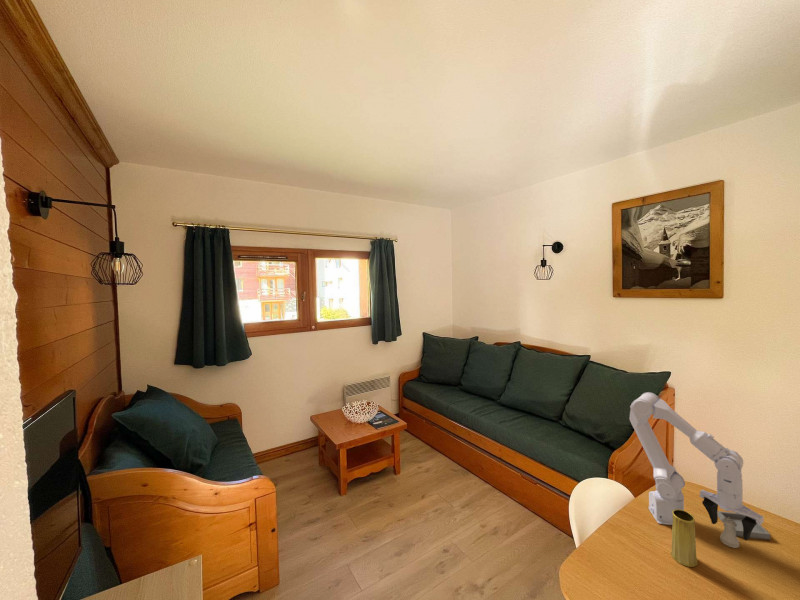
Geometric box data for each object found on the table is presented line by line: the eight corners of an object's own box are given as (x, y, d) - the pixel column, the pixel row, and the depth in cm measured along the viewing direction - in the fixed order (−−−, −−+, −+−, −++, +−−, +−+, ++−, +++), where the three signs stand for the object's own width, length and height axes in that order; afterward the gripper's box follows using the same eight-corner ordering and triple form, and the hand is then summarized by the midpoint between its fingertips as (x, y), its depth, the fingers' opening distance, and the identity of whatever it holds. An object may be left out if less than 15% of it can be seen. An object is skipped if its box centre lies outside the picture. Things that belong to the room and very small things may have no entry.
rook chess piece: (744, 548, 103) (743, 524, 102) (729, 549, 103) (729, 525, 103) (730, 537, 108) (729, 514, 107) (716, 538, 108) (715, 515, 107)
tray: (735, 536, 108) (735, 530, 108) (717, 516, 116) (717, 510, 116) (770, 540, 105) (770, 534, 105) (749, 519, 114) (749, 514, 114)
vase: (691, 552, 103) (690, 509, 102) (701, 569, 97) (701, 524, 96) (667, 548, 105) (666, 506, 104) (676, 565, 99) (675, 520, 98)
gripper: (694, 482, 109) (695, 520, 110) (756, 508, 96) (756, 552, 97) (705, 475, 112) (706, 512, 113) (766, 499, 99) (766, 542, 100)
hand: (730, 530), depth 105 cm, fingers open, 7 cm apart
